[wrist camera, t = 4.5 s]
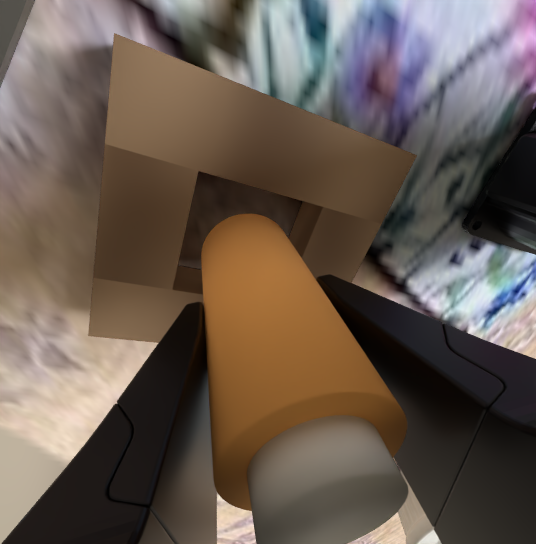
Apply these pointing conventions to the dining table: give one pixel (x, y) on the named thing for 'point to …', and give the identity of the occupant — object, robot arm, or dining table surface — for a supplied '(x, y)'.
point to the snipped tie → (11, 29)
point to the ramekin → (416, 521)
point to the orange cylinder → (292, 396)
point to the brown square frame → (226, 164)
